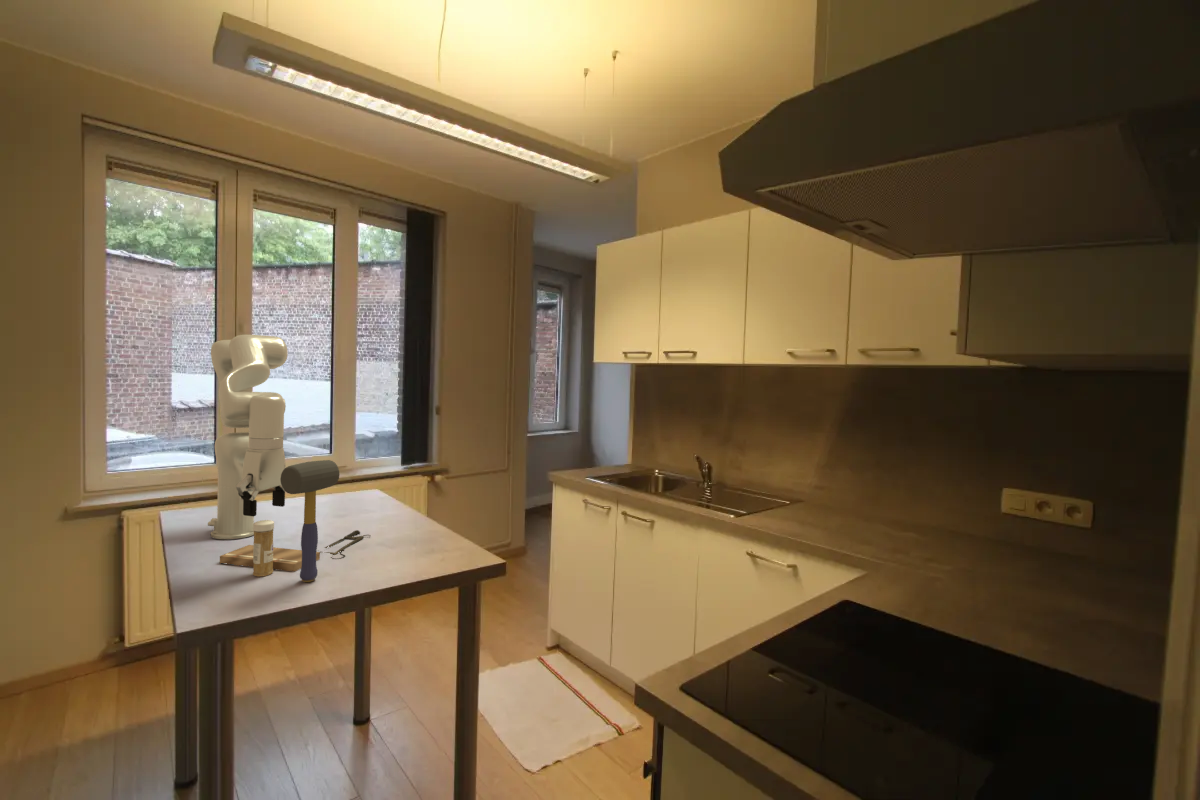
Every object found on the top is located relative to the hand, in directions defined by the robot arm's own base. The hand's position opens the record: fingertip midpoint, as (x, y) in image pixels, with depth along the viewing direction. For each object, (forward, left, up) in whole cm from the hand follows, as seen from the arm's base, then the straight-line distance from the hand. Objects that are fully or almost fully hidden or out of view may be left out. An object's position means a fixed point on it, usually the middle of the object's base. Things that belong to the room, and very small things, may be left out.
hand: (264, 510), depth 141 cm
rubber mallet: (+14, -1, -16) cm, 21 cm away
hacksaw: (+6, +26, -17) cm, 32 cm away
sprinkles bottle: (0, 0, -16) cm, 16 cm away
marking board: (-5, +8, -16) cm, 19 cm away
